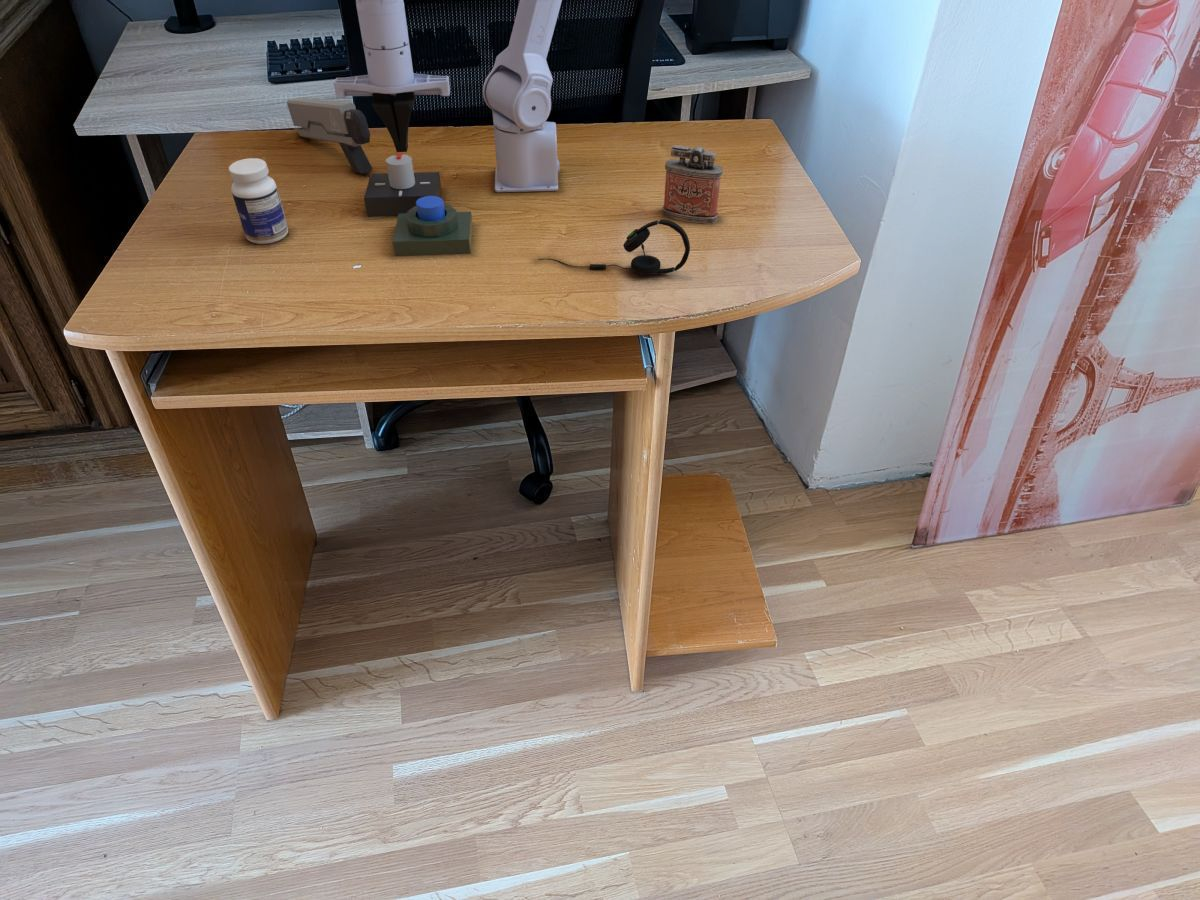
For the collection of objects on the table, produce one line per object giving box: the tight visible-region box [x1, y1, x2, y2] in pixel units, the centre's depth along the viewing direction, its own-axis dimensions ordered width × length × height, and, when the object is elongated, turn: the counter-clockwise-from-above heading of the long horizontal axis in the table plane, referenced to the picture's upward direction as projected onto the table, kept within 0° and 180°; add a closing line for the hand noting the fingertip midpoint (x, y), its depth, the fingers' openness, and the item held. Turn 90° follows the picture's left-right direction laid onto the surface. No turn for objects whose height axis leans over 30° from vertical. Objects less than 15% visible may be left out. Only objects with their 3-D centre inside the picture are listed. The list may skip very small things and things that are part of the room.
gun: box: [286, 97, 373, 175], centre depth 132 cm, size 2×25×10 cm, turn 41°
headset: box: [537, 219, 691, 276], centre depth 109 cm, size 7×7×20 cm
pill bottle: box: [228, 157, 289, 245], centre depth 111 cm, size 6×6×10 cm
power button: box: [416, 196, 445, 221], centre depth 111 cm, size 4×4×2 cm
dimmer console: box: [363, 171, 443, 218], centre depth 121 cm, size 10×8×3 cm
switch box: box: [392, 203, 474, 257], centre depth 112 cm, size 10×8×4 cm
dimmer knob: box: [385, 152, 415, 189], centre depth 119 cm, size 4×4×4 cm
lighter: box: [661, 144, 723, 225], centre depth 117 cm, size 8×3×10 cm, turn 71°
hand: (402, 149), depth 114 cm, fingers closed
